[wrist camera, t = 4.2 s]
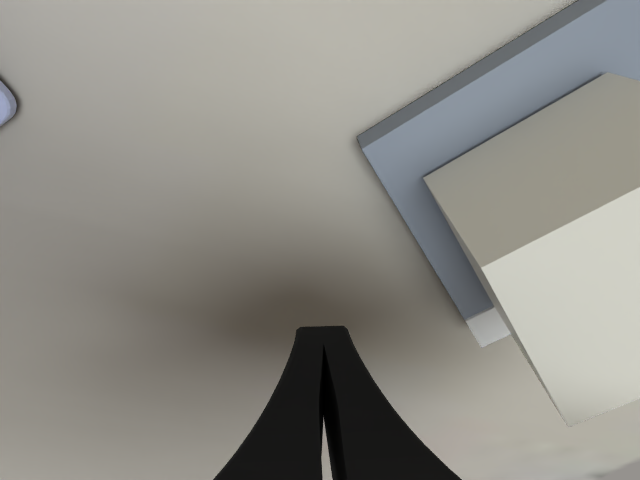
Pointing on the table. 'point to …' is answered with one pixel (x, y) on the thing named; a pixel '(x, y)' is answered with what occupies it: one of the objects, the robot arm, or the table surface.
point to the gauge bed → (493, 127)
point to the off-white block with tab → (560, 240)
